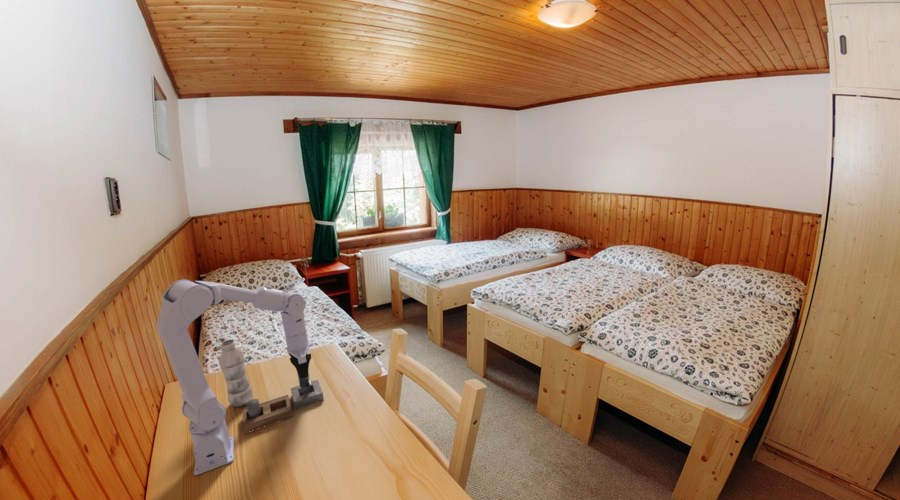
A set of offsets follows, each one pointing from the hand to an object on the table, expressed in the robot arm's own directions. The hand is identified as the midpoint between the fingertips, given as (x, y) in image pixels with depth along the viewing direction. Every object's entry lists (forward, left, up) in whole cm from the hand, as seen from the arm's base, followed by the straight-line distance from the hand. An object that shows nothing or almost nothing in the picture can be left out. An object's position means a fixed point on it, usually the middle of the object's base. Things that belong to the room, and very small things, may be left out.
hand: (303, 374), depth 112 cm
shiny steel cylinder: (0, 0, -4) cm, 3 cm away
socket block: (0, 0, -8) cm, 8 cm away
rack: (-3, +11, -8) cm, 14 cm away
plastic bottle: (+9, +17, -8) cm, 21 cm away
